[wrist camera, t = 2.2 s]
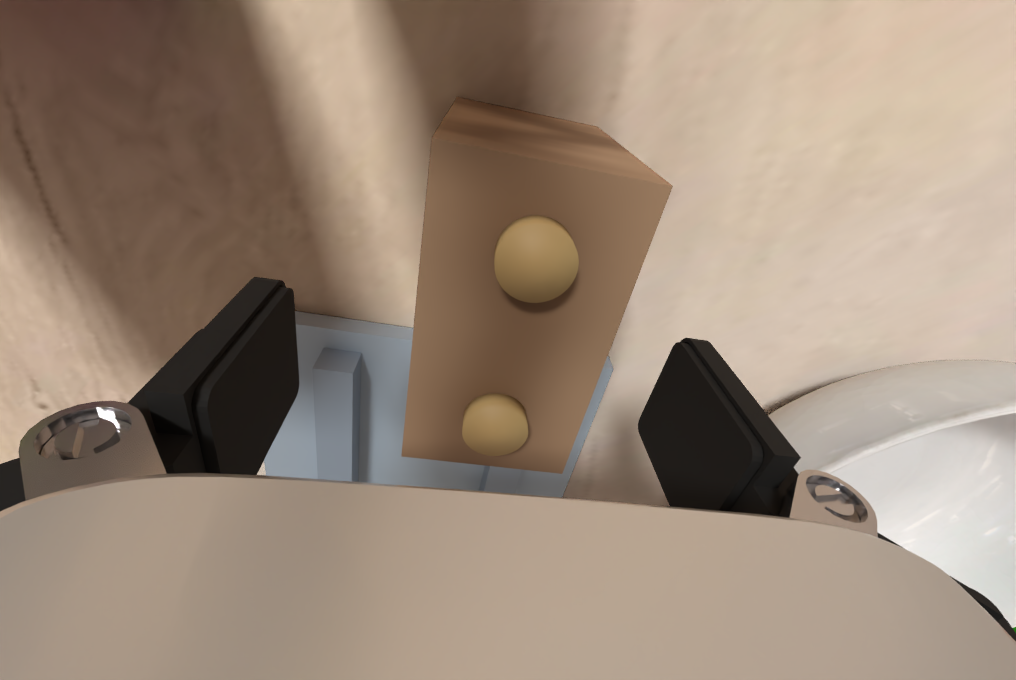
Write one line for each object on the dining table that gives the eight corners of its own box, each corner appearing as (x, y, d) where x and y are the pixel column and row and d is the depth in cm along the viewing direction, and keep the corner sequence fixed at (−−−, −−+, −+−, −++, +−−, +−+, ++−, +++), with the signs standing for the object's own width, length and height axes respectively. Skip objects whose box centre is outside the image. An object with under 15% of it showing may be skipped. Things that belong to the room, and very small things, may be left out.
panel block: (597, 126, 16) (683, 194, 9) (539, 336, 21) (565, 489, 14) (457, 96, 15) (428, 143, 8) (430, 319, 20) (397, 472, 13)
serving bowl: (600, 548, 30) (626, 666, 25) (754, 265, 19) (866, 360, 14) (869, 573, 33) (948, 683, 28) (1138, 339, 22) (1365, 443, 16)
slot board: (608, 356, 22) (652, 473, 16) (521, 582, 32) (528, 701, 26) (254, 305, 19) (152, 417, 14) (286, 564, 30) (237, 690, 24)
